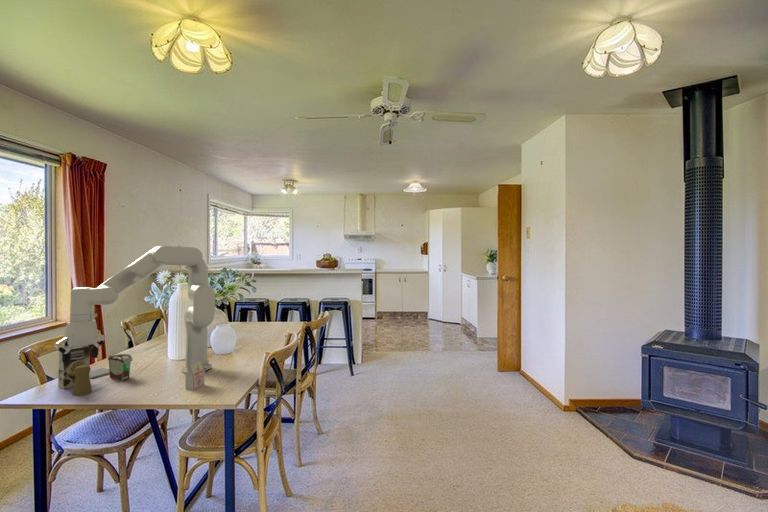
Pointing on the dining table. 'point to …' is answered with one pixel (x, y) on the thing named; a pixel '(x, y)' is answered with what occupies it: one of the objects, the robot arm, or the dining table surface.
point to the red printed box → (194, 376)
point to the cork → (82, 381)
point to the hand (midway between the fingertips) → (80, 360)
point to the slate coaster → (98, 373)
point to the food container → (119, 366)
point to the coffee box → (72, 365)
